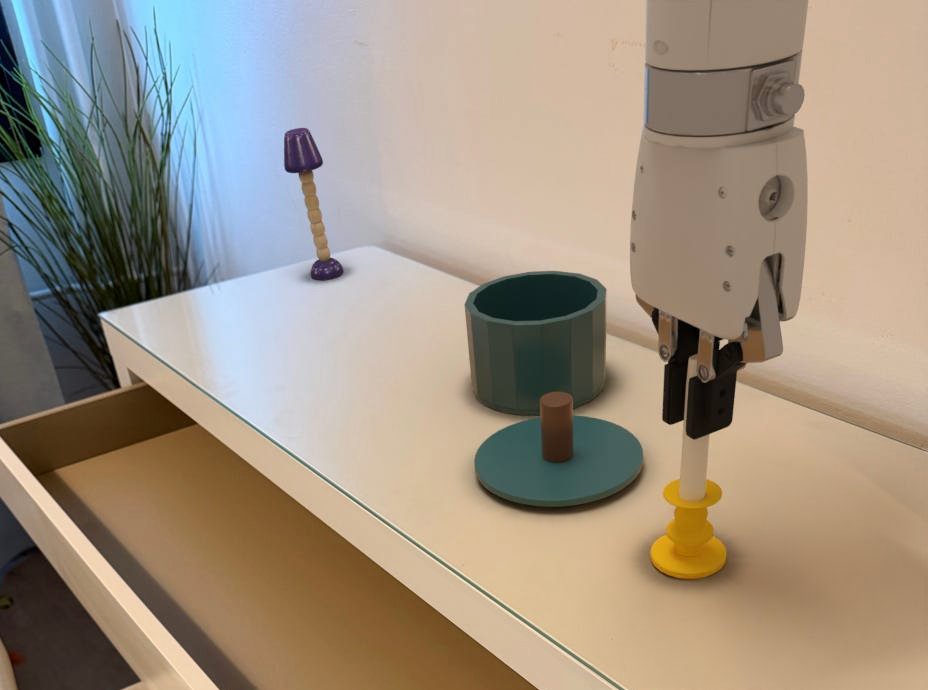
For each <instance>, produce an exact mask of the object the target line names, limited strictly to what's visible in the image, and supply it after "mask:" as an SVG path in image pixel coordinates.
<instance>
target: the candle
mask: <svg viewBox="0 0 928 690" xmlns="http://www.w3.org/2000/svg"><path fill="white" fill-rule="evenodd" d="M697 358H698V354H696V355H693V356H691V357H689V361H688V370H687V380H686V393H685V408H684V420H683V424H682V425H683V426H682V440H681V441H682V442H681V456H680V470H679V471H680V472H679V478H677V479H674V480H672V481H670V482H668V483H667V484H666V485H665V486H664V487H663V490H662V496H663V498H664V500H665V501H666V502H667V503H668V504H669V505H671V506H673V507H675V508H674V511H673V516H674V517H673V519H671V520H670V521H669V522H668V524H667V525H666V526H665V527H666V528H665V534H664V535H662V536H660V537H659V538H657V539H655V541H654V542H653V543H652V545H651V548H650V553H649V554H650V555H649V556H650V561H651V562H652V564H653V566H654V567H655V569H656V568H657V570H659V571H660V572H661V573H663V574H666V575H667V576H670V577H673V578H677V579H685V580H690V579H694V580H695V579H700V578H705V577H708V576H710V575H713V574H715V573H717V572H718V571H720V570H721V569H723V567H724V565H725V563H726V561H727V553H728V552H727V548H726V546H725V545H724V543H723V542H722V541H721V540H720V539H718V538H717V537H715V536H714V532H715V530H714V529H715V528H714V525H713V524H712V523H711V522H710V521H709V520H708V517H709V511H708V508H709V507H712V506H714V505H715V504H717V503H719V502H720V500H721V499H722V496H723V490H722V487H720V485H719V484H717V483H716V482H715V481H713V480H711V479H708V478H707V473H708V460H709V459H708V458H709V448H710V447H709V444H710V434H708V435H706V436H703V437H701V438H698V439H695V440H694V439H692V438H690V437H688V436H687V435H686V416H687V400H688V383H689V378H692V377H694V376H697Z"/></svg>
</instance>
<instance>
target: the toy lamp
mask: <svg viewBox="0 0 928 690" xmlns="http://www.w3.org/2000/svg"><path fill="white" fill-rule="evenodd" d="M323 160H324V159H323V157H322V155H321V153H320V150H319V148H318V146H317V143H316V141H315V139H314V137H313V135H312V133H311V130H309V128H307V127H297V128H293V129H289V130H287V131H285V133H284V136H283V167H284V170H285V172H286V173H289V174H298V178H299V180H300V182H301V192H302V194H303V196H304V199H303V200H304V205H305V208H306V209H307V212H306V213H307V219H308V221H309V223H310V225H309V226H310V227H309V228H310V232H311V234H312V236H313V239H312V240H313V244H314V246H315V248H316V249H315V250H316V251H315V253H316V257H317V260H316V261H314V262H313V263H312V266H311V268H310V278H311V279H313V280H317V281H327V280H331V279H336V278H338V277H339V276H340V277H341V275H343V273H344V268H343V265H342V263H340V261H339V260H338V259H336V258H333V257H331V250H330V249H329V247H328V245H329V244H328V243H329V242H328V237H327V235H326V234H325V233H326V226H325V223H324V222H323V213H322V211H321V209H320V201H319V196H317V186H316V183H315V181H314V171H315V170H317V169H319V168H321V167H322V166H323V164H324V161H323Z"/></svg>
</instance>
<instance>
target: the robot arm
mask: <svg viewBox="0 0 928 690" xmlns="http://www.w3.org/2000/svg"><path fill="white" fill-rule="evenodd" d="M645 3H646V8H645V45H644V46H645V49H644V51H645V52H644V55H645V56H644V61H645V62H644V85H643V86H644V87H643V88H644V91H643V125H642V130H641V136H640V140H639V147H638V153H637V159H636V165H635V174H634V183H633V192H632V203H631V216H630V217H631V218H630V232H629V233H630V235H629V271H630V273H629V274H630V282H631V283H630V284H631V289H632V290H633V292H634V293H635V294H634V295H635V300H636V303H637V304H638V305H639V306H640V307H641V308H642V310H643V311H644V312H645V313H646V314H647V316H649V318H651V322H652V324H653V326H654V328H655V331H656V333H657V335H658V340H657V351H658V356H659V358H660V359H661V361H663V362H664V363H666V364H664V366H663V388H662V389H663V390H662V414H661V415H662V416H661V420H662V422H664V423H665V424H667V425H668V426H672V425H675V424H677V423H680V422H684V408H685V393H686V380H687V370H688V361H689V357H691V356H693V355H696V354H698V358H697V376H694V377H692V378H689V383H688V400H687V416H686V435H687V436H688V437H690V438H692V439H694V440H695V439H698V438H701V437H703V436H706V435H708V434H709V435H711V434H713V433H716V432H718V431H721V430H724V429H726V428H728V427H730V426H731V424H732V422H733V417H734V408H735V398H736V388H737V387H736V386H737V379H738V378H737V377H738V376H737V375H738V372H739V371H741V370H744V369H745V368H746V367H747V364H756V363H757V364H760V363H764V362H766V361H770V360H772V359H775V358H777V357H780V356H781V355H782V354H783V352H784V344H783V336H782V329H781V323H782V322H787V321H790V320H793V319H794V318H795V317H796V316H797V313H798V311H799V307H800V302H801V296H802V288H803V279H804V268H805V257H806V245H807V244H806V243H807V230H808V229H807V228H808V227H807V226H808V204H809V203H808V200H809V199H808V196H809V193H808V191H809V190H808V185H809V184H808V178H809V177H808V159H807V149H806V139H805V131H804V129H803V128H800V127H796V126H795V118H796V115H797V113H798V112H799V111H800V110H801V108H802V106H803V103H804V101H805V89H804V87H803V85H802V84H800V77H801V76H800V75H801V67H802V58H803V52H804V51H803V49H804V42H805V34H806V23H807V15H808V9H809V8H808V7H809V0H646V2H645ZM723 340H727V343H726V344H724V345H723V346H722V347H721V346H720V344H721V341H723ZM720 347H721V348H720Z"/></svg>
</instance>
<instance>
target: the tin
mask: <svg viewBox="0 0 928 690" xmlns="http://www.w3.org/2000/svg"><path fill="white" fill-rule="evenodd" d="M607 296H608V295H607V287H605V286H604V285H603V284H602V283H601V282H600V281H599V280H598V279H596V278H594V277H591V276H588V275H585V274H582V273H579V272H569V271H562V270H561V271H560V270H540V271H539V270H538V271H535V270H534V271H527V272H520V273H515V274H509V275H505V276H501V277H497V278H496V279H493V280H490V281H487V282H484V283H482V284H480V285H479V286H478V287H476V288H475V289H473V290H472V291H470V292H469V293H468V295H467V298H466V300H465V302H464V314H465V325H466V336H467V345H468V346H467V348H468V359H469V369H470V381H471V387H472V389H473V395H474V397H475V398H476V399H477V400H478V401H479V402H480V403H481V404H482V405H484V406H485V407H487V408H490V409H492V410H495V411H497V412H501V413H506V414H511V415H521V416H540V398H541V397H542V396H543V395H545V394H547V393H550V392H566V393H568V394H570V395H571V396H572V397H573V409H576V408H579V407H581V406H583V405H585V404H587V403H590V402H591V401H592V400H594V399H595V398H597V396H598V395H600V394H601V392H602V391H603V390H604V388H605V385H606V373H607Z"/></svg>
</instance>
